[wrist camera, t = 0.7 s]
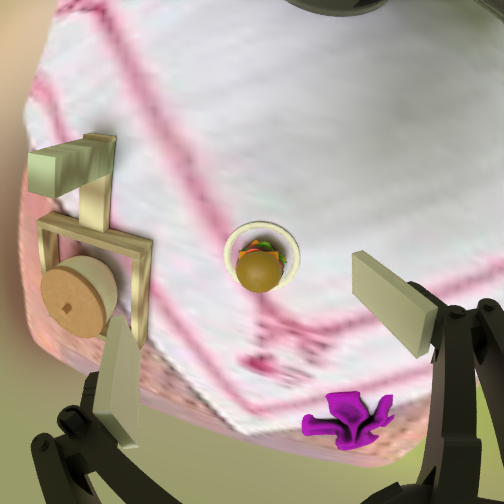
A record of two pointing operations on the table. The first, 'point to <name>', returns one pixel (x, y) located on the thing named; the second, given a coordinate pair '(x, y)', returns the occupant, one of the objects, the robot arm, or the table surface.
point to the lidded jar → (80, 295)
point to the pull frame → (88, 214)
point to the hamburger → (261, 261)
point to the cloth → (349, 420)
